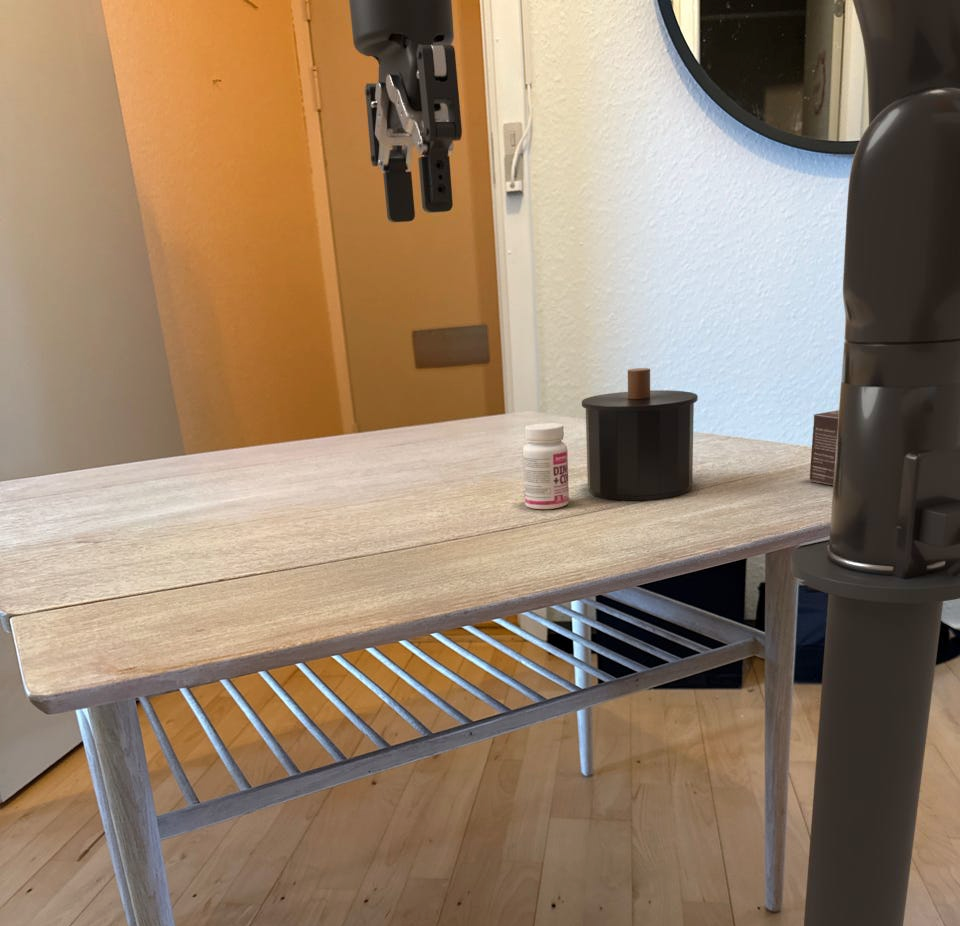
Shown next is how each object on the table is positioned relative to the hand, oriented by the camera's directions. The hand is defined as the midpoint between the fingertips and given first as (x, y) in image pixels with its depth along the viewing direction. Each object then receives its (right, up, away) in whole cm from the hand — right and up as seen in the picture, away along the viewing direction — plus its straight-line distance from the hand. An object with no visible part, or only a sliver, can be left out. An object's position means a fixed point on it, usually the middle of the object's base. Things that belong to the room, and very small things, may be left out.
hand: (418, 217), depth 73 cm
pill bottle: (+12, -19, +26) cm, 35 cm away
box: (+45, -17, +27) cm, 55 cm away
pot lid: (+22, -8, +27) cm, 36 cm away
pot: (+23, -17, +30) cm, 41 cm away
